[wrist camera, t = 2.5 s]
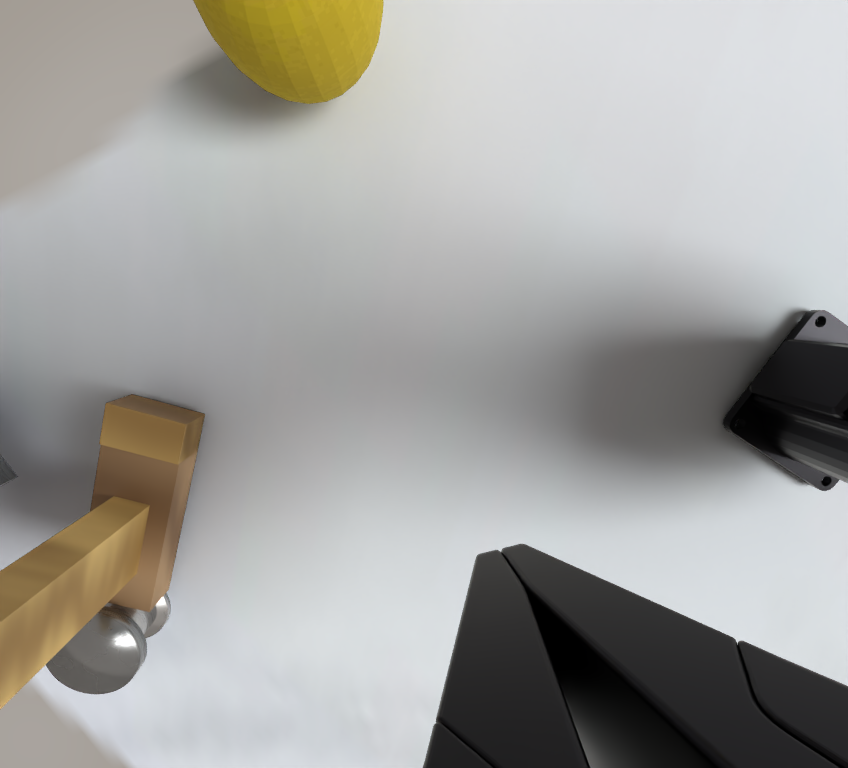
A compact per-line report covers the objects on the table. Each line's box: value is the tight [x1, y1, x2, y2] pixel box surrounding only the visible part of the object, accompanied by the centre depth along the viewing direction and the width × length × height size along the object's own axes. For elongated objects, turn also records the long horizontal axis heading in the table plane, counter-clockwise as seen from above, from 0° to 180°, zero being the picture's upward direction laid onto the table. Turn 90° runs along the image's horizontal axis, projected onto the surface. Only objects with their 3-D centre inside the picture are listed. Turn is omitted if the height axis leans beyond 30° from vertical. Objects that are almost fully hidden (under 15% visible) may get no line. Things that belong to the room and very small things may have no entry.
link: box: [0, 394, 205, 709], centre depth 14 cm, size 9×3×10 cm, turn 163°
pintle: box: [46, 593, 171, 694], centre depth 19 cm, size 4×4×3 cm
